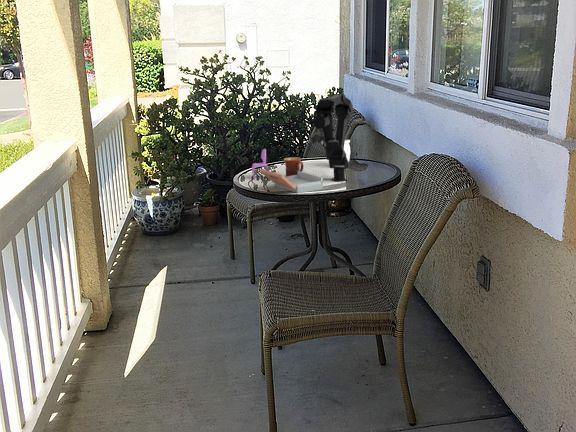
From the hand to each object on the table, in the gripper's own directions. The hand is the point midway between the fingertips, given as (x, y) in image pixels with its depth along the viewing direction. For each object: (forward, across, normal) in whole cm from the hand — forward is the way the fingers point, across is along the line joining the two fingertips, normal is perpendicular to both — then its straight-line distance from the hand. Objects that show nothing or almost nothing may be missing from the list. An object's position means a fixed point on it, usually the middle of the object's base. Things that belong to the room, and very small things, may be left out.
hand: (328, 159), depth 277 cm
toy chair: (+13, -35, -27) cm, 46 cm away
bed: (+13, -5, -14) cm, 19 cm away
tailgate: (+10, -2, -21) cm, 24 cm away
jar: (+13, -45, +19) cm, 51 cm away
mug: (+13, -25, -11) cm, 30 cm away
